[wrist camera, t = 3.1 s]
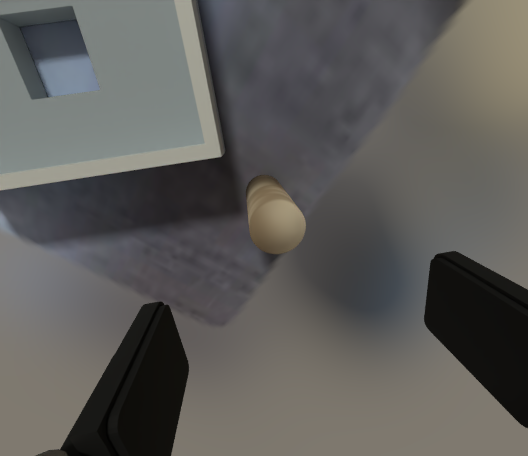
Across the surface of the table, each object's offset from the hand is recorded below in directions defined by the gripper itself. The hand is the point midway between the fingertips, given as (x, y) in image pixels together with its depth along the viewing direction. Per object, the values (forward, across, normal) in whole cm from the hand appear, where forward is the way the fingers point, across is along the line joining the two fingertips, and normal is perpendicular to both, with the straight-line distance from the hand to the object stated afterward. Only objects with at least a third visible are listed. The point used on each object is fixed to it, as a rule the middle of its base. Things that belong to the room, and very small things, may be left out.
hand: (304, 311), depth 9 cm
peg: (+18, 0, 0) cm, 18 cm away
